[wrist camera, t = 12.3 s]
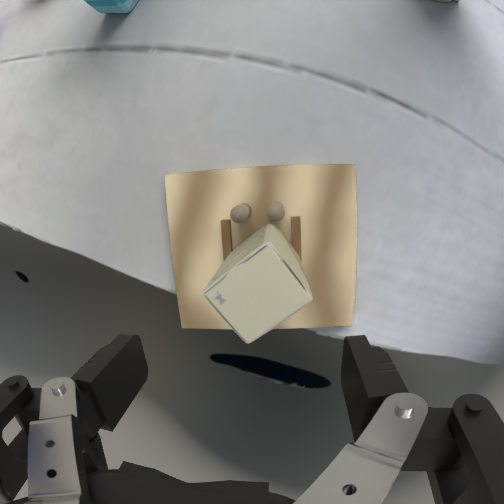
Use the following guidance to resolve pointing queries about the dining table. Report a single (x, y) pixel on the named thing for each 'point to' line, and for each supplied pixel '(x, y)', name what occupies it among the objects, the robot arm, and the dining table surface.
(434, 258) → the dining table surface
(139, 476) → the robot arm
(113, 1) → the data package
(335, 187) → the tray
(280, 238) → the box
